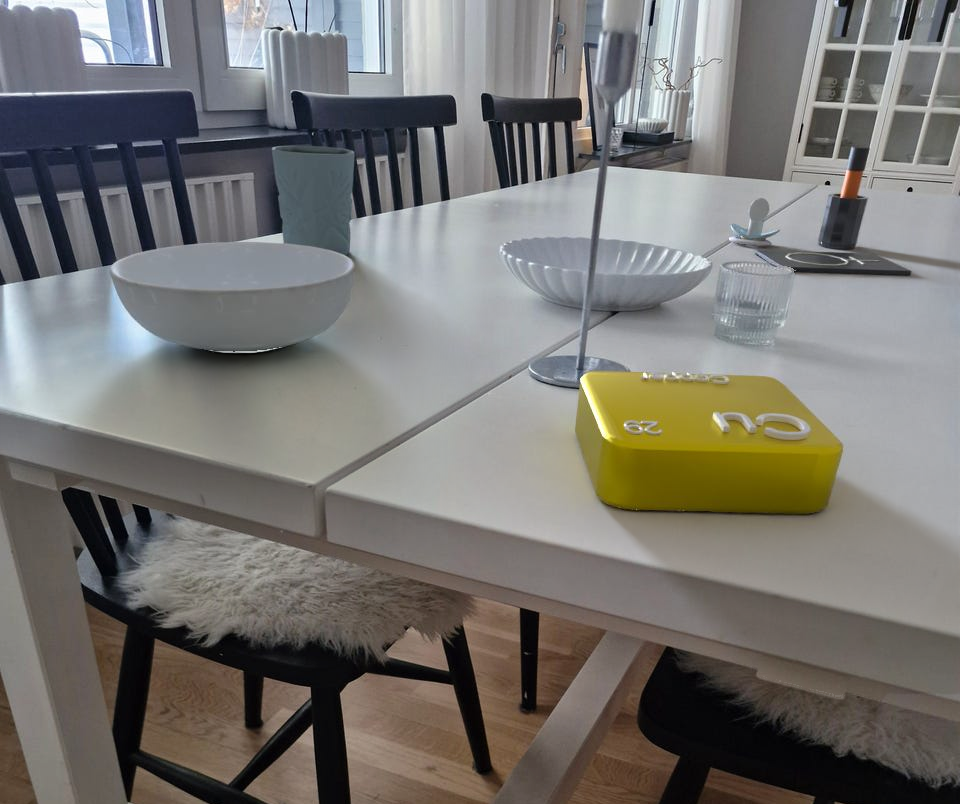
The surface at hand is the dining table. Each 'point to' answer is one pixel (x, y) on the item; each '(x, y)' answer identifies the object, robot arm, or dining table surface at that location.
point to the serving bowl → (235, 293)
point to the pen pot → (842, 221)
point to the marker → (854, 171)
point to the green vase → (315, 195)
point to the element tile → (703, 443)
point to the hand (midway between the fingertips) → (886, 40)
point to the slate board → (833, 262)
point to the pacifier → (754, 226)
